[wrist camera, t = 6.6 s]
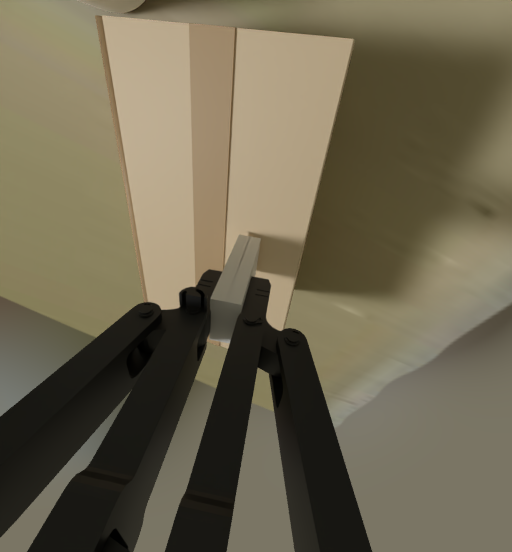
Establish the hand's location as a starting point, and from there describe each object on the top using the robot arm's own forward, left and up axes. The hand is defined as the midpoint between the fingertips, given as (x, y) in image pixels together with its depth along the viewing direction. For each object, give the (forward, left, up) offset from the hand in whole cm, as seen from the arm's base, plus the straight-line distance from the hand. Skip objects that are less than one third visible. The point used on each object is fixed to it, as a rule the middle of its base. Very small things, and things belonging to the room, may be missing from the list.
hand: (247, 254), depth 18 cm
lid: (-3, 0, -2) cm, 4 cm away
